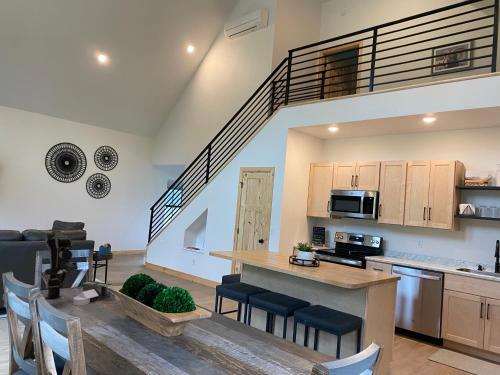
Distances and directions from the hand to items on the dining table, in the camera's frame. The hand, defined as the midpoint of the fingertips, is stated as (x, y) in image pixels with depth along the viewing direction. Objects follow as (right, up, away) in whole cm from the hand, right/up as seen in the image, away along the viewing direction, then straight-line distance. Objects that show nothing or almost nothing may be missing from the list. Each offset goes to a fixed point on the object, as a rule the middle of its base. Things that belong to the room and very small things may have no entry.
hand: (61, 284), depth 215 cm
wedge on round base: (+11, -13, +5) cm, 18 cm away
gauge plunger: (+15, -12, +15) cm, 24 cm away
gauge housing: (+16, -13, +16) cm, 26 cm away
